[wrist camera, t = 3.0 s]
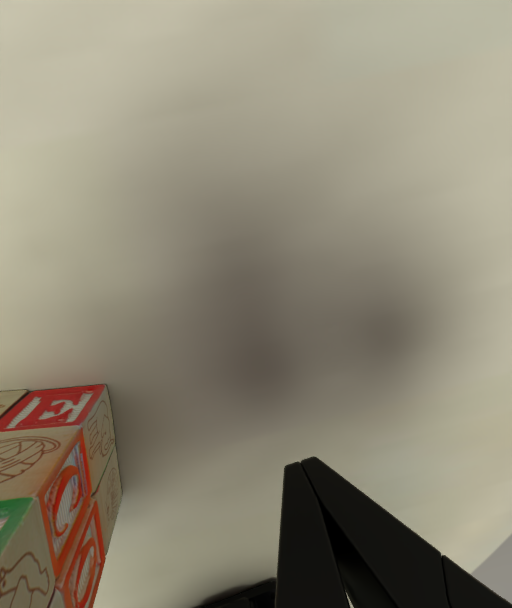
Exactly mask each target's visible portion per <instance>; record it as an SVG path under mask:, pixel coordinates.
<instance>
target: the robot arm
mask: <svg viewBox="0 0 512 608" xmlns="http://www.w3.org/2000/svg"><path fill="white" fill-rule="evenodd" d="M345 590H346V591H345ZM346 592H347V594H348V597H349V599H350V601H351V603H352V605H353V607H354V608H512V604H511V603H509V602H508V601H506V600H505V599H503V598H502V597H501V596H499V595H497V594H496V593H495V592H493V591H492V590H490V589H489V588H488V587H486V586H485V585H484V584H482V583H481V582H480V581H478V580H477V579H475V578H474V577H473V576H472V575H470V574H469V573H467V572H466V571H465V570H463V569H462V568H461V567H459V566H458V565H457V564H456V563H454V562H453V561H452V560H450V559H449V558H448V557H447V556H445V555H442V556H441V553H440V551H438V550H437V549H436V548H435V547H433V546H432V545H431V544H429V543H428V542H427V541H425V540H424V539H423V538H421V537H420V536H419V535H418V534H416V533H415V532H414V531H412V530H411V529H410V528H408V527H407V526H406V525H404V524H403V523H402V522H401V521H399V520H398V519H397V518H395V517H394V516H393V515H391V514H390V513H389V512H387V511H386V510H385V509H384V508H382V507H381V506H380V505H378V504H377V503H376V502H374V501H373V500H372V499H370V498H369V497H368V496H367V495H365V494H364V493H363V492H361V491H360V490H359V489H357V488H356V487H355V486H354V485H352V484H351V483H350V482H348V481H347V480H346V479H344V478H343V477H342V476H340V475H339V474H338V473H337V472H335V471H334V470H333V469H331V468H330V467H329V466H327V465H326V464H325V463H323V462H322V461H321V460H320V459H318V458H317V457H314V456H313V457H310V458H307V459H304V460H302V461H301V463H299V462H295V463H292V464H289V465H286V466H285V468H284V478H283V493H282V508H281V522H280V537H279V552H278V566H277V581H273V582H269V583H267V584H264V585H261V586H259V587H256V588H254V589H251V590H248V591H246V592H243V593H241V594H238V595H235V596H233V597H230V598H227V599H225V600H222V601H220V602H217V603H214V604H212V605H209V606H206V607H204V608H350V605H349V602H348V598H347V595H346Z"/></svg>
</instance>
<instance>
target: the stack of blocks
mask: <svg viewBox="0 0 512 608" xmlns="http://www.w3.org/2000/svg"><path fill="white" fill-rule="evenodd" d="M121 499H122V489H121V482H120V475H119V468H118V460H117V453H116V447H115V434H114V425H113V418H112V412H111V405H110V400H109V395H108V390H107V387H106V385H105V384H104V385H92V386H82V387H72V388H62V389H49V390H44V391H33V392H28V391H27V390H16V391H3V392H0V608H93V604H94V601H95V597H96V593H97V590H98V586H99V582H100V578H101V575H102V571H103V567H104V563H105V559H106V558H105V556H106V554H107V552H108V548H109V544H110V540H111V536H112V532H113V529H114V525H115V521H116V518H117V514H118V510H119V507H120V503H121Z"/></svg>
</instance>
